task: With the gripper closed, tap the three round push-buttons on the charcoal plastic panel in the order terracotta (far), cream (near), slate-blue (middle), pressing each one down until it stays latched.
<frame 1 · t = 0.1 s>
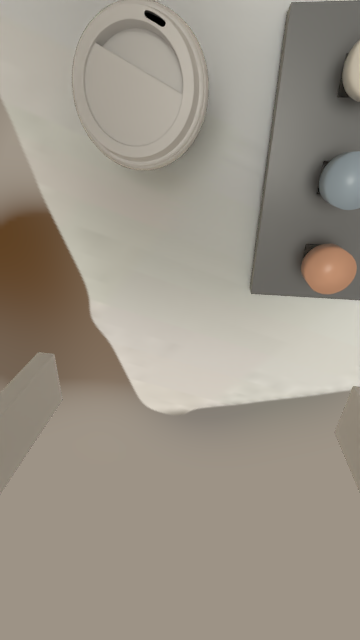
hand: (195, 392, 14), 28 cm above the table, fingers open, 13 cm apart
button blue: (346, 180, 29), point 5 cm above the table, slide at 0.0 cm
coffee cup: (168, 117, 33), on the table
panel: (329, 177, 33), on the table
button terracotta: (324, 266, 33), point 5 cm above the table, slide at 0.0 cm
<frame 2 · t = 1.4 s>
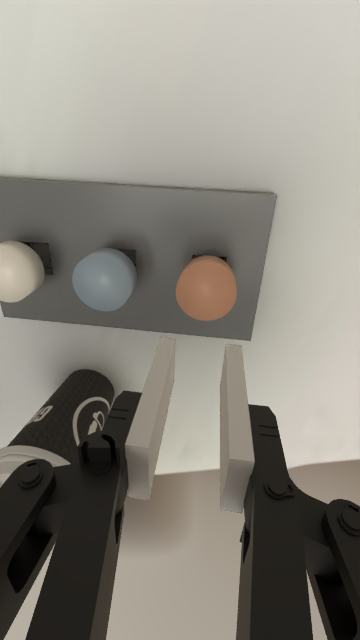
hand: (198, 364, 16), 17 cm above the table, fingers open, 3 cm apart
button blue: (109, 275, 26), point 5 cm above the table, slide at 0.0 cm
coffee cup: (90, 388, 40), on the table
button cream: (17, 268, 27), point 5 cm above the table, slide at 0.0 cm
panel: (125, 259, 31), on the table
button terracotta: (206, 284, 26), point 5 cm above the table, slide at 0.0 cm
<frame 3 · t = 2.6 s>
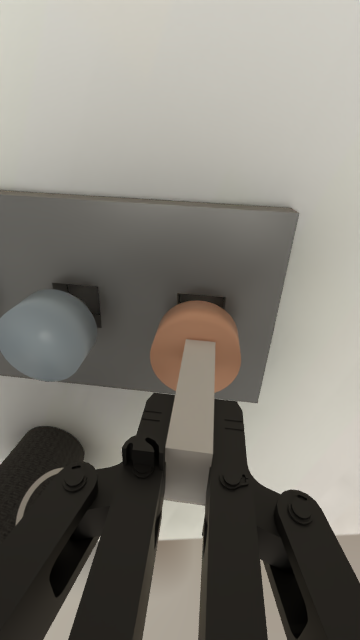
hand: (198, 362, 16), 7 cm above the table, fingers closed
button blue: (57, 327, 18), point 5 cm above the table, slide at 0.0 cm
coffee cup: (55, 447, 32), on the table
panel: (88, 295, 23), on the table
button terracotta: (197, 339, 18), point 5 cm above the table, slide at 0.2 cm, touching gripper
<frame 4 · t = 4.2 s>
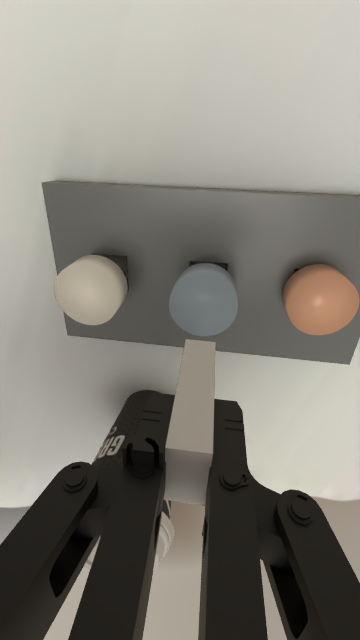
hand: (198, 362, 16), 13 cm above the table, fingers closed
button blue: (204, 294, 23), point 5 cm above the table, slide at 0.0 cm
coffee cup: (151, 409, 37), on the table
button cream: (97, 285, 24), point 5 cm above the table, slide at 0.0 cm
panel: (208, 272, 27), on the table
button terracotta: (315, 294, 24), point 3 cm above the table, slide at 1.8 cm
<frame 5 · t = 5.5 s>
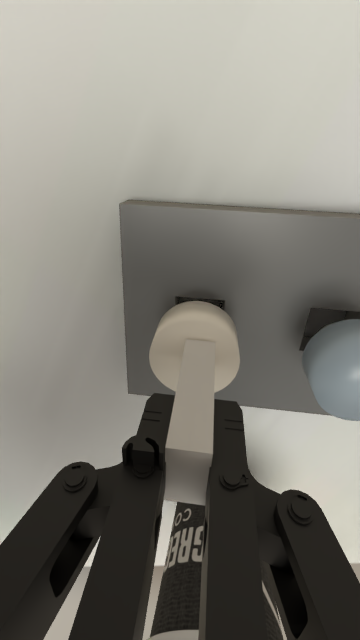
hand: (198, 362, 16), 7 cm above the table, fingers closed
button blue: (348, 359, 17), point 5 cm above the table, slide at 0.0 cm
coffee cup: (216, 471, 30), on the table
button cream: (196, 339, 18), point 4 cm above the table, slide at 0.6 cm, touching gripper
panel: (320, 318, 21), on the table
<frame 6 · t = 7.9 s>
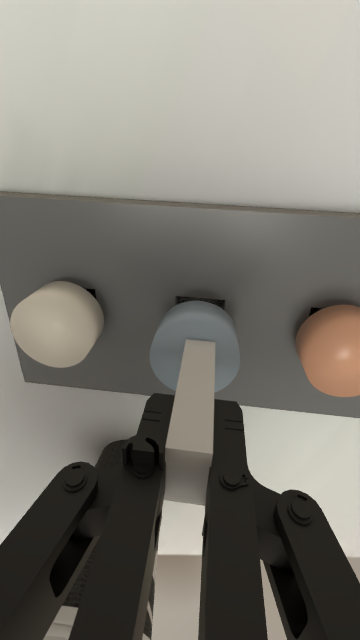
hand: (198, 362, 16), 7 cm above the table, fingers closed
button blue: (196, 339, 18), point 4 cm above the table, slide at 0.6 cm, touching gripper
coffee cup: (133, 460, 31), on the table
button cream: (66, 317, 19), point 3 cm above the table, slide at 1.8 cm
panel: (200, 307, 22), on the table
button terracotta: (337, 342, 18), point 3 cm above the table, slide at 1.8 cm
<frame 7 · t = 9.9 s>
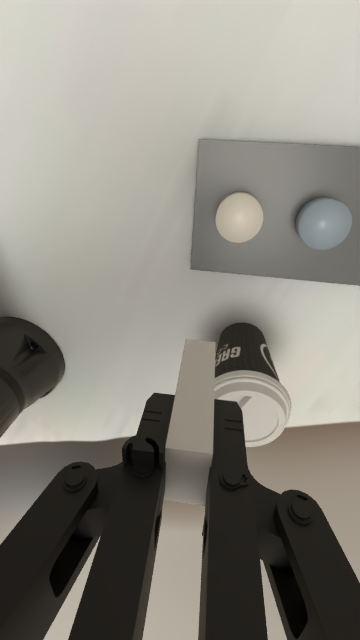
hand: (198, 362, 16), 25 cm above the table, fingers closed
button blue: (320, 221, 32), point 3 cm above the table, slide at 1.8 cm
coffee cup: (241, 341, 44), on the table
button cream: (238, 215, 33), point 3 cm above the table, slide at 1.8 cm
panel: (312, 216, 35), on the table
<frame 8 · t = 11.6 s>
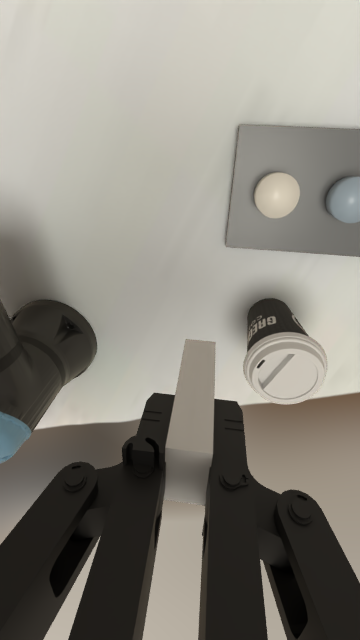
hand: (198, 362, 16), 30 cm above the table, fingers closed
button blue: (348, 198, 35), point 3 cm above the table, slide at 1.8 cm
coffee cup: (268, 316, 47), on the table
button cream: (274, 194, 36), point 3 cm above the table, slide at 1.8 cm
panel: (338, 195, 38), on the table
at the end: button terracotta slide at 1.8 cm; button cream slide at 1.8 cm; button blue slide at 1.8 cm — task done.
